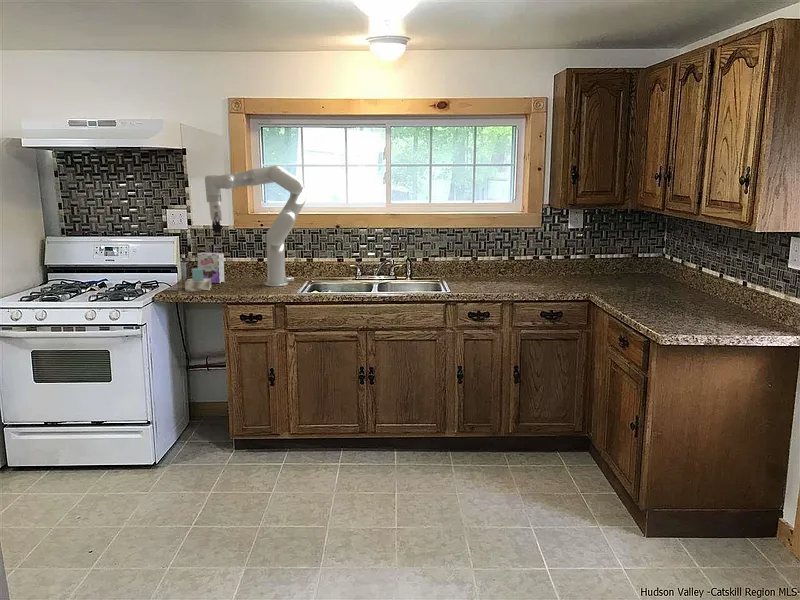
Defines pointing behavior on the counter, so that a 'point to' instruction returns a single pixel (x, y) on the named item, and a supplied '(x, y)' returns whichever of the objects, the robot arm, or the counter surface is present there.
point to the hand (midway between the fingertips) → (216, 231)
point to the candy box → (212, 266)
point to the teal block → (197, 274)
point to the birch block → (197, 285)
